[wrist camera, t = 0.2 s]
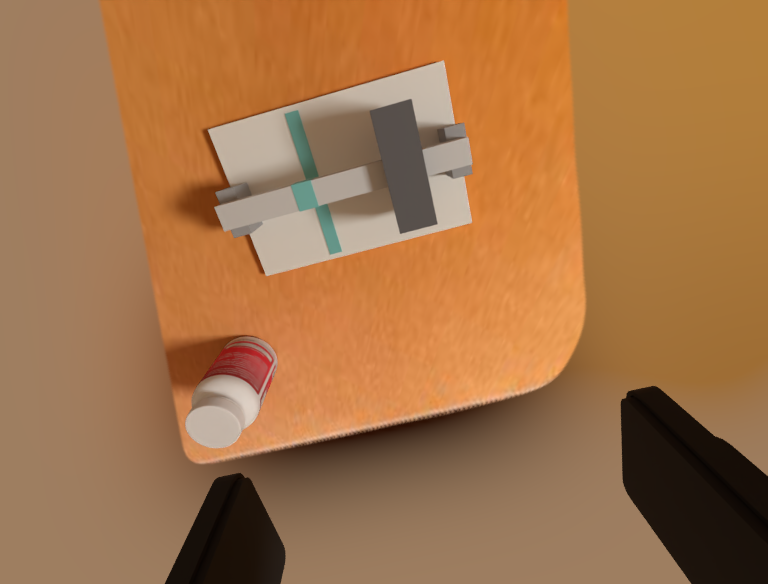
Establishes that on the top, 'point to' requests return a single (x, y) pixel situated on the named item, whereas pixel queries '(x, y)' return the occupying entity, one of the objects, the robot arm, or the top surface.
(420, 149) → the collar
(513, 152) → the top surface
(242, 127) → the rail stand
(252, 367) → the pill bottle
